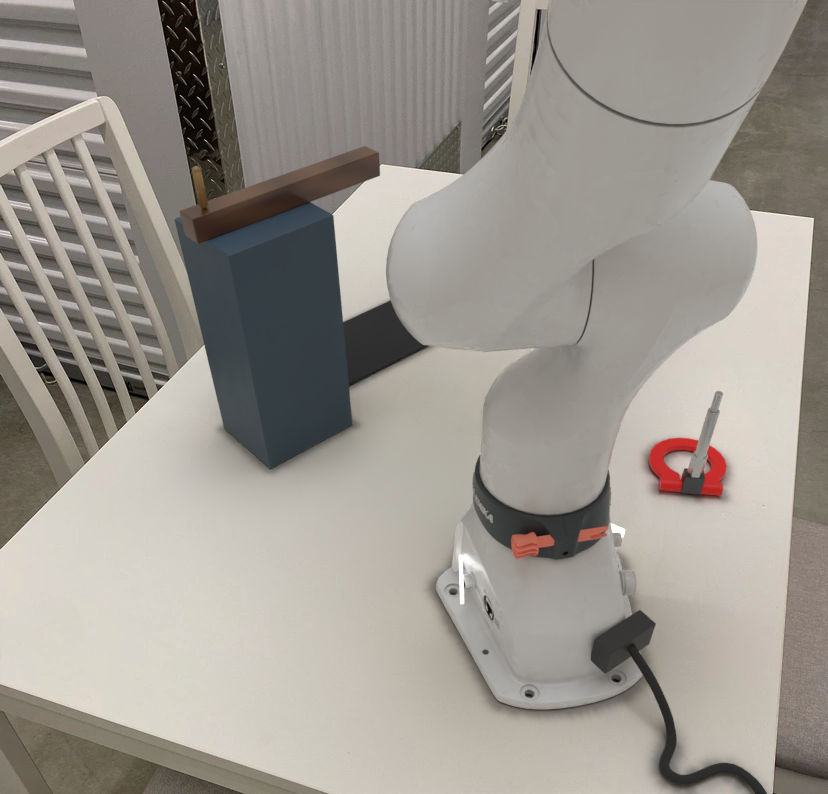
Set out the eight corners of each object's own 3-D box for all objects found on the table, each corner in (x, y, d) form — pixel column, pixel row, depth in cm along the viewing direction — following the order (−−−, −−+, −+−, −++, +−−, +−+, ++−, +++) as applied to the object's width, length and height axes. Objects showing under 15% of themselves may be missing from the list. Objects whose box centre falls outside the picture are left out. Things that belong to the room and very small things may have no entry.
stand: (304, 388, 104) (275, 182, 85) (352, 425, 99) (333, 214, 80) (223, 428, 99) (173, 218, 80) (270, 469, 94) (228, 255, 75)
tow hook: (646, 442, 96) (650, 493, 90) (670, 345, 87) (676, 393, 81) (719, 448, 95) (729, 500, 89) (751, 351, 86) (764, 401, 80)
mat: (399, 298, 118) (399, 296, 118) (455, 332, 112) (455, 329, 112) (285, 351, 110) (285, 348, 110) (339, 391, 104) (339, 388, 103)
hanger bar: (366, 169, 87) (362, 106, 82) (380, 176, 86) (377, 112, 81) (184, 235, 77) (169, 168, 73) (197, 244, 76) (182, 177, 72)
